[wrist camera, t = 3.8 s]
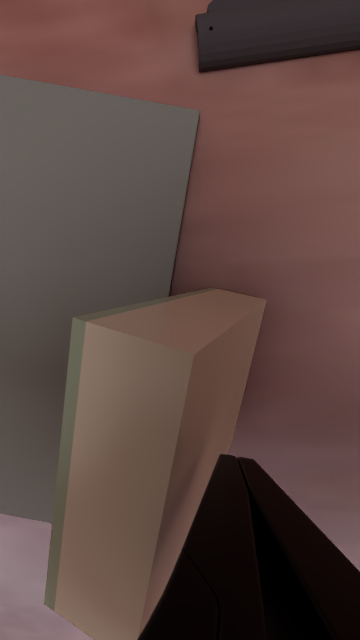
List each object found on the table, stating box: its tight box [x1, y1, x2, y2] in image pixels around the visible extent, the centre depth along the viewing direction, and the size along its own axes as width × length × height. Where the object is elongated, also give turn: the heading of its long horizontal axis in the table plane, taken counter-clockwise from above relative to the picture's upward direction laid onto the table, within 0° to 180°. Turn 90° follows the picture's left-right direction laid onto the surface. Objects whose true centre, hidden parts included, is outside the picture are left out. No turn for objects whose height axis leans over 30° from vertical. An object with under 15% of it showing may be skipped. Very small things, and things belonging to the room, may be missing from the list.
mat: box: [0, 75, 200, 523], centre depth 15 cm, size 14×20×1 cm
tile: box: [44, 287, 267, 640], centre depth 10 cm, size 2×7×9 cm, turn 169°
